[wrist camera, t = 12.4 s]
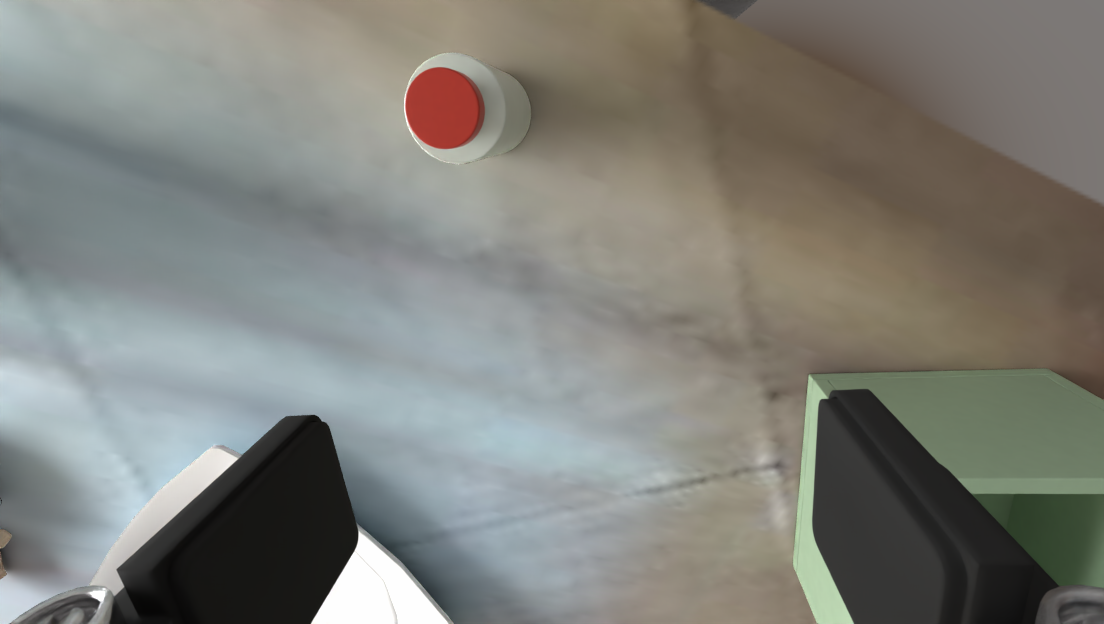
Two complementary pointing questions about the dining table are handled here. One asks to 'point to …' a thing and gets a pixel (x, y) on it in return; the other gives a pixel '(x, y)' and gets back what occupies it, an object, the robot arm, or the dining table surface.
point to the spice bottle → (465, 109)
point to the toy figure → (3, 536)
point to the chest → (985, 463)
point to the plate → (357, 596)
